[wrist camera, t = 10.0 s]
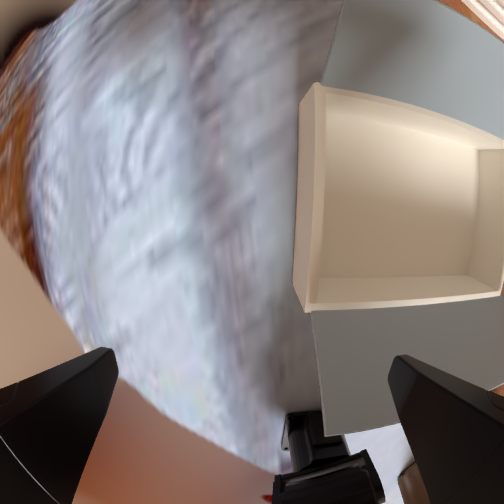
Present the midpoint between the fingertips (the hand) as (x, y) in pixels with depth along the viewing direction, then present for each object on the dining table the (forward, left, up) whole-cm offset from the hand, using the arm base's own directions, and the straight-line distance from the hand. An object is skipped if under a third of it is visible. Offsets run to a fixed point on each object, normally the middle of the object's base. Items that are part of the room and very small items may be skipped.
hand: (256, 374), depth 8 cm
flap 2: (-3, -12, -4) cm, 13 cm away
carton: (+5, -12, -13) cm, 18 cm away
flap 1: (+12, -12, -4) cm, 18 cm away
